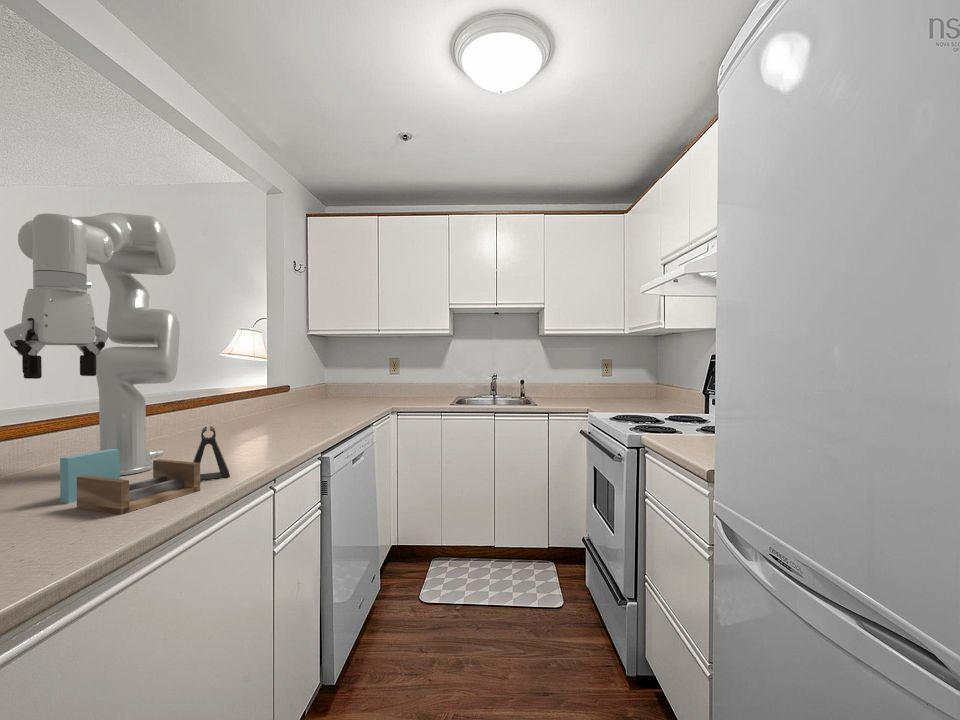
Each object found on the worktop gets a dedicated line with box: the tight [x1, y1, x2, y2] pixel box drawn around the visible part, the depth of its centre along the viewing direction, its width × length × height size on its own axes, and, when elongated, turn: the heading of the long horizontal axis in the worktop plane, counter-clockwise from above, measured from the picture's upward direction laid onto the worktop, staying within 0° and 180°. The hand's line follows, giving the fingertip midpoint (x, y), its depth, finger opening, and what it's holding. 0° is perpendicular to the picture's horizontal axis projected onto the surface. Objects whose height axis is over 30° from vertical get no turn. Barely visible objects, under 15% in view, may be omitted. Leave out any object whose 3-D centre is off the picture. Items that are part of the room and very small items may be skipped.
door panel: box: [59, 449, 121, 504], centre depth 102 cm, size 10×2×9 cm, turn 161°
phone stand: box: [192, 426, 231, 482], centre depth 118 cm, size 9×6×12 cm, turn 119°
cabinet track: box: [76, 458, 201, 515], centre depth 100 cm, size 17×12×6 cm
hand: (61, 377), depth 90 cm, fingers open, 9 cm apart
